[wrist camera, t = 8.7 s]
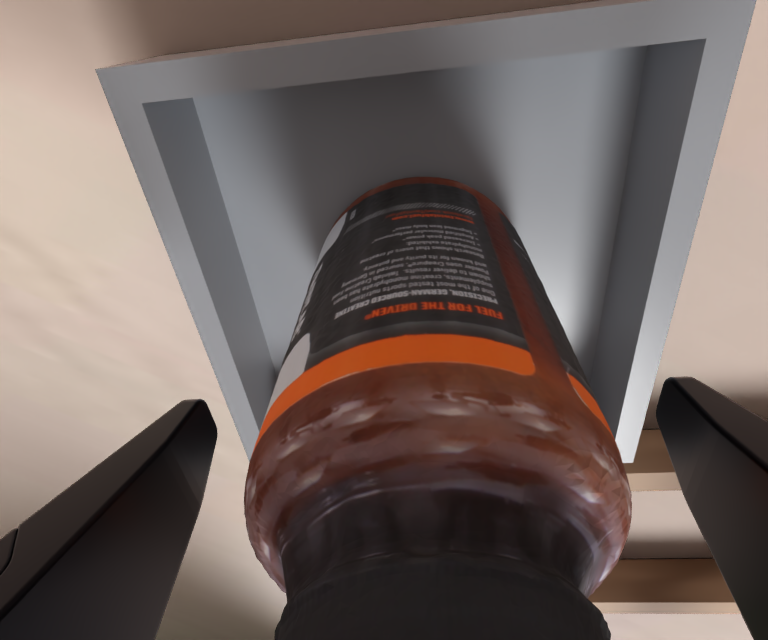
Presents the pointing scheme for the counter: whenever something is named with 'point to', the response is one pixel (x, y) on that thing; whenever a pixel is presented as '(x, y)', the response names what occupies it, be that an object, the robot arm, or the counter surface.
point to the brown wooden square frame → (661, 576)
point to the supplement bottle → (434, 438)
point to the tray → (442, 167)
